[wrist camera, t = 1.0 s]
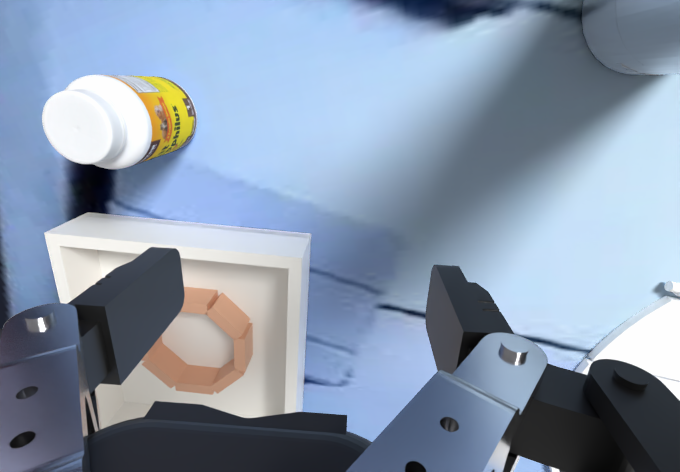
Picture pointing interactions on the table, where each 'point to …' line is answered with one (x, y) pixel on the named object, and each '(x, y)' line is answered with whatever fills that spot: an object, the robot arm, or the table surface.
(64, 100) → the supplement bottle
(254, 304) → the walled box
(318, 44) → the table surface
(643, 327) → the white round slatted board
